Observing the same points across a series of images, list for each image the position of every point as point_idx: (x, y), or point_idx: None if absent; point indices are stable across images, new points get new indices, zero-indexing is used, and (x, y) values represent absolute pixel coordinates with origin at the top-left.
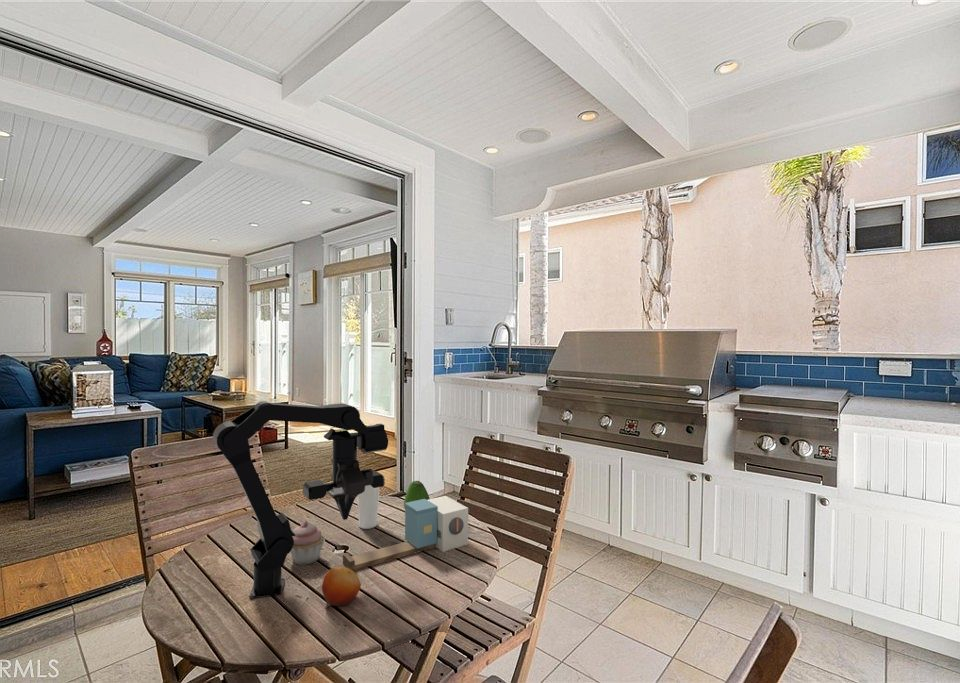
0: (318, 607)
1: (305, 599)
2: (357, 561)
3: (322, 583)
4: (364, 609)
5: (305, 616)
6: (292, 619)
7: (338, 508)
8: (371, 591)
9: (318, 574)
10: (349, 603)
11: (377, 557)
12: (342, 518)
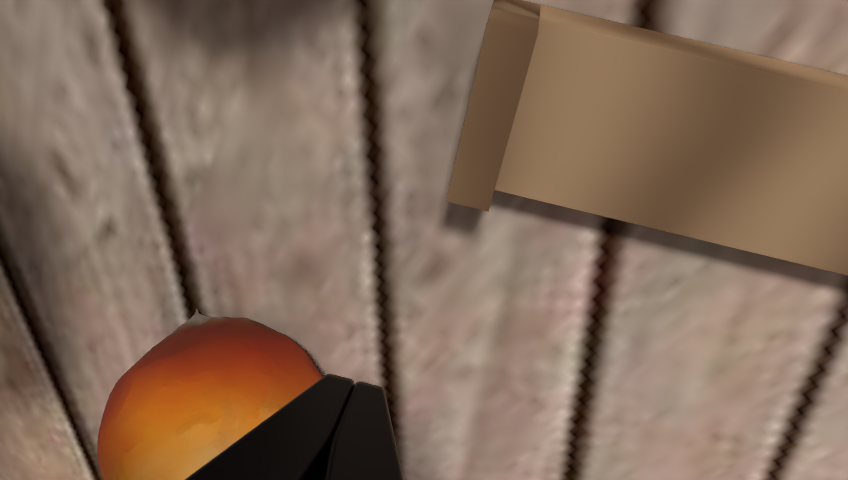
0: (140, 332)
1: (95, 230)
2: (550, 154)
3: (108, 400)
4: None
5: (71, 343)
6: (14, 322)
7: (200, 470)
8: (420, 409)
9: (249, 12)
10: None
11: (716, 220)
12: (323, 380)
